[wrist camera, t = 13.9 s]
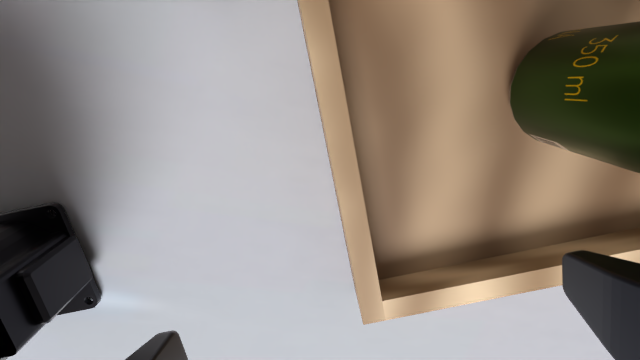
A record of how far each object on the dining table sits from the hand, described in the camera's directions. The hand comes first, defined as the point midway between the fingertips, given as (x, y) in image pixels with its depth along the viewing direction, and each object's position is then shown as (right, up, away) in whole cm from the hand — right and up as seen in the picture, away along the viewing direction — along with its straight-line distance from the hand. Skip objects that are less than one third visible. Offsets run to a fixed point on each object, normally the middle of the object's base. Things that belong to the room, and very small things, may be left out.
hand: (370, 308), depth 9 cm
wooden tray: (+8, +6, +12) cm, 16 cm away
